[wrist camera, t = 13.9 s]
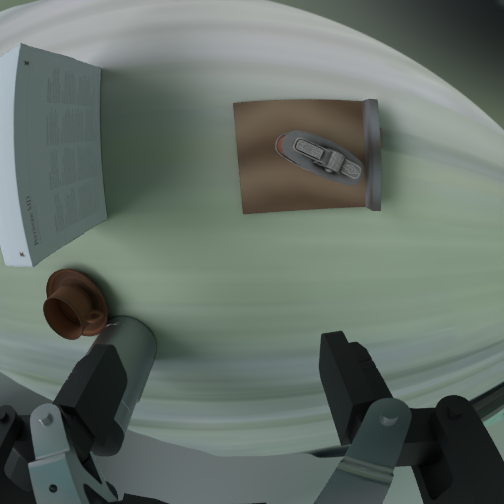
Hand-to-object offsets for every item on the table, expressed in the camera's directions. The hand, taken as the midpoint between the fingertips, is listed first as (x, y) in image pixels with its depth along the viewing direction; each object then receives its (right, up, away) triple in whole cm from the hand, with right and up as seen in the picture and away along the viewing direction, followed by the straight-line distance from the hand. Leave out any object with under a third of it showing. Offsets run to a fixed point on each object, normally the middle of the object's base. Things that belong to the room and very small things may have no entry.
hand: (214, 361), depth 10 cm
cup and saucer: (-26, -3, +29) cm, 39 cm away
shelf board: (+8, +16, +22) cm, 28 cm away
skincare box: (-21, +18, +21) cm, 34 cm away
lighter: (+8, +15, +21) cm, 27 cm away
